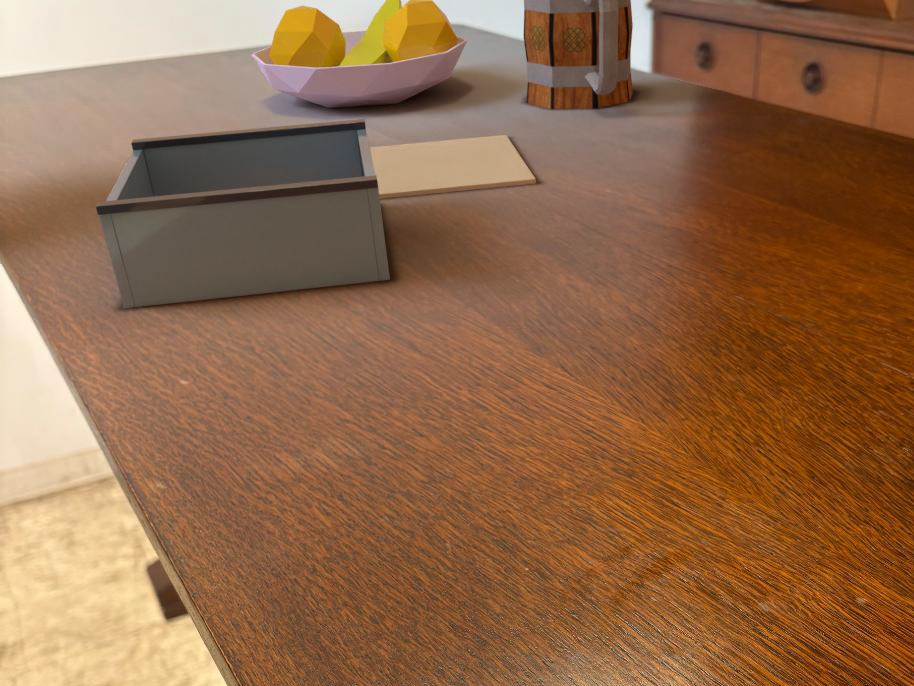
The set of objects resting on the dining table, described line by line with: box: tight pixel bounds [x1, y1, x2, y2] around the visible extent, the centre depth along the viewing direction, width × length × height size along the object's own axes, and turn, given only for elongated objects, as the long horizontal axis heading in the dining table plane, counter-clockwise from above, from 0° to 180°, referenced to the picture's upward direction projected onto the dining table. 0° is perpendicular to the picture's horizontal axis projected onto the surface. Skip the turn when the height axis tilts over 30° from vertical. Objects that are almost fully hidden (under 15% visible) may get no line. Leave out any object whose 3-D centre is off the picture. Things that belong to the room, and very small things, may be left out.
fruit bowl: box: [250, 0, 468, 109], centre depth 137 cm, size 28×27×11 cm
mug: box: [523, 0, 634, 110], centre depth 126 cm, size 20×14×15 cm
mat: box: [370, 134, 537, 200], centre depth 108 cm, size 20×18×1 cm
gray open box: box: [95, 118, 391, 309], centre depth 87 cm, size 20×20×8 cm
